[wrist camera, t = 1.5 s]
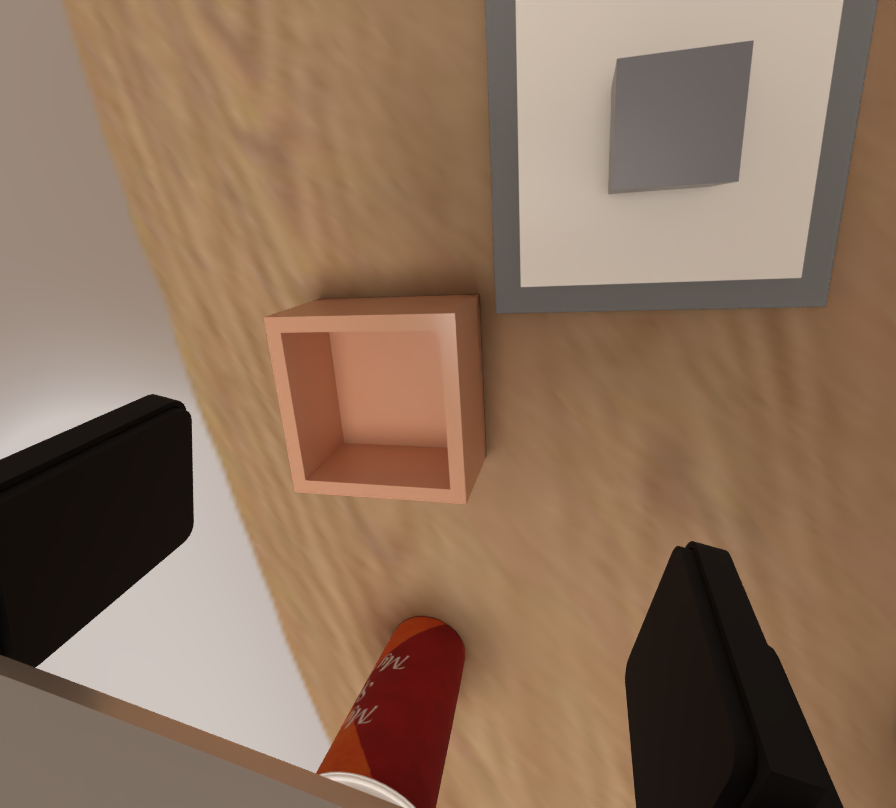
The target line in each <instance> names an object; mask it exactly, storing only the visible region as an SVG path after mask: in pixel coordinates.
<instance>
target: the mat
mask: <svg viewBox="0 0 896 808" xmlns="http://www.w3.org/2000/svg"><path fill="white" fill-rule="evenodd" d="M877 3H878V0H844V1H843V7H842V14H841V20H840V27H839V34H838V40H837V47H836V53H835V60H834V66H833V73H832V80H831V86H830V93H829V99H828V106H827V112H826V119H825V126H824V132H823V139H822V145H821V152H820V158H819V165H818V172H817V178H816V185H815V191H814V198H813V205H812V211H811V218H810V224H809V231H808V237H807V244H806V251H805V257H804V264H803V270H802V277H801V278H783V279H752V280H722V281H692V282H662V283H631V284H601V285H571V286H541V287H521V274H520V219H519V164H518V109H517V54H516V0H485V8H486V38H487V67H488V97H489V126H490V156H491V185H492V215H493V244H494V274H495V303H496V314H498V313H546V312H593V311H641V310H689V309H736V308H784V307H826V303H827V297H828V291H829V285H830V279H831V273H832V267H833V261H834V256H835V250H836V244H837V238H838V232H839V226H840V220H841V214H842V209H843V203H844V197H845V191H846V185H847V179H848V173H849V167H850V161H851V156H852V150H853V144H854V138H855V132H856V126H857V120H858V114H859V108H860V103H861V97H862V91H863V85H864V79H865V73H866V67H867V61H868V56H869V50H870V44H871V38H872V32H873V26H874V20H875V14H876V8H877Z"/></svg>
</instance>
